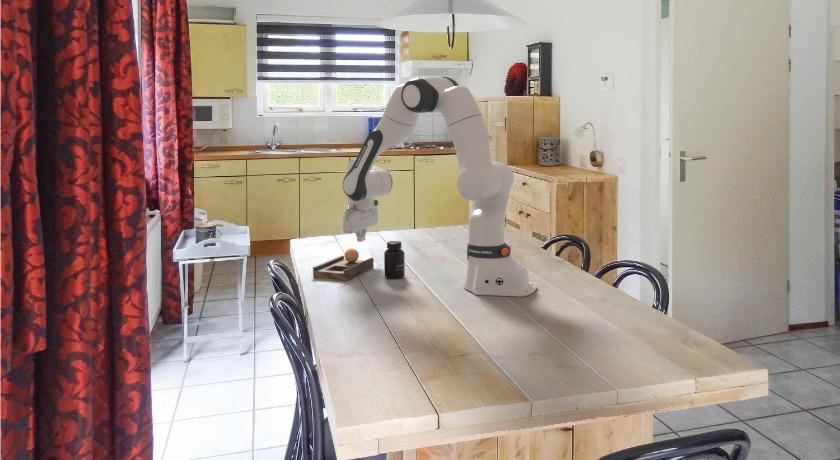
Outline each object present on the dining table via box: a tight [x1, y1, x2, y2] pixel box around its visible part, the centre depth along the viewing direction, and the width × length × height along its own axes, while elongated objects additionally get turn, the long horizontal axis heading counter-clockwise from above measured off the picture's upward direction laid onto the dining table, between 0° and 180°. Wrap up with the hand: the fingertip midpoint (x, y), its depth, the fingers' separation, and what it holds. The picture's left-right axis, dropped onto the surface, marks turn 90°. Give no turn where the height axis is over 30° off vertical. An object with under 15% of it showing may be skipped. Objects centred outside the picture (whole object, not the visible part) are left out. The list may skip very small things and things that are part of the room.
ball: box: [344, 248, 360, 263], centre depth 236 cm, size 5×5×5 cm
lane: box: [312, 255, 375, 282], centre depth 232 cm, size 13×19×4 cm
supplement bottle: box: [383, 240, 406, 280], centre depth 225 cm, size 7×7×12 cm
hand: (361, 241), depth 243 cm, fingers closed
